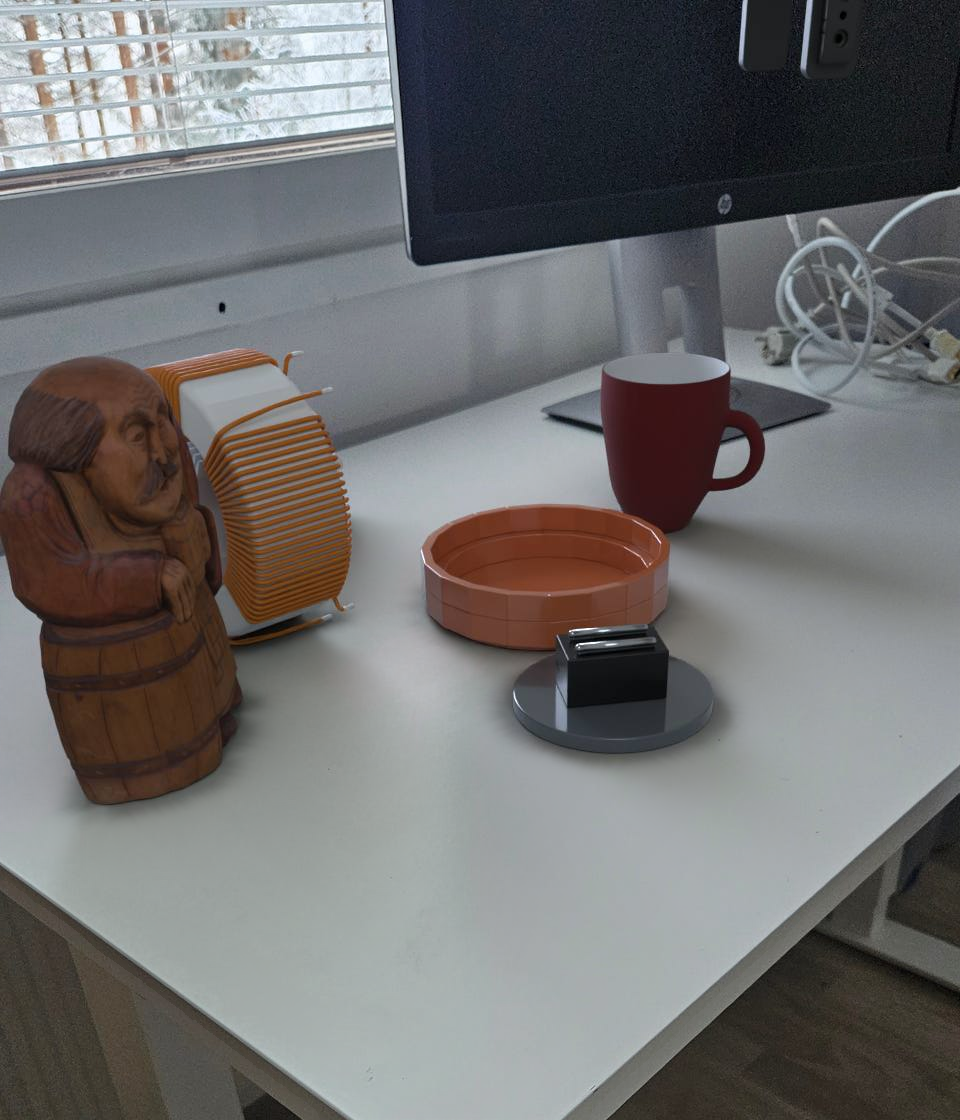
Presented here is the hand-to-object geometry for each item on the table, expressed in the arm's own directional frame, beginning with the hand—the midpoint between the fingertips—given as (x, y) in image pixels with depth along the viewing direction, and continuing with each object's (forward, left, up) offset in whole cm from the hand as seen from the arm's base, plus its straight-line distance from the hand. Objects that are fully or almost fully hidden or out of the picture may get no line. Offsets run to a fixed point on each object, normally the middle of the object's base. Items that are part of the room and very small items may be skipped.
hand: (792, 74), depth 56 cm
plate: (+10, +10, -26) cm, 30 cm away
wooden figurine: (+32, +10, -26) cm, 43 cm away
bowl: (+11, -3, -26) cm, 28 cm away
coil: (+28, -4, -26) cm, 39 cm away
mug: (0, -14, -26) cm, 30 cm away
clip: (+10, +10, -25) cm, 29 cm away
